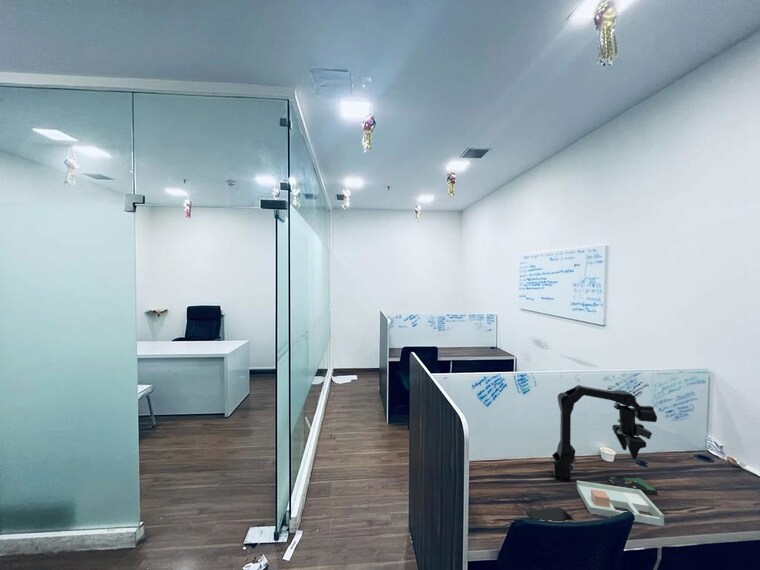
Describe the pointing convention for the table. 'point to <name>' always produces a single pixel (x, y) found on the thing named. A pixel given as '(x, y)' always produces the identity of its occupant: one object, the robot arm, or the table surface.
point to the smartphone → (550, 514)
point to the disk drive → (633, 484)
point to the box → (621, 502)
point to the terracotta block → (600, 498)
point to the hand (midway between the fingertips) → (629, 454)
